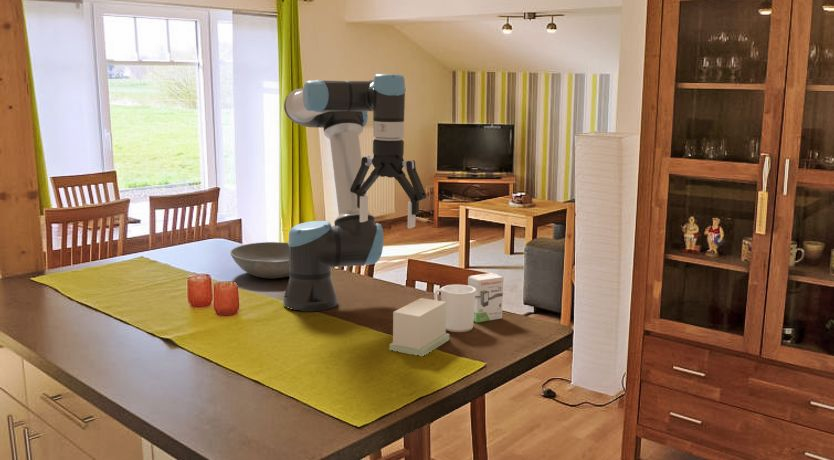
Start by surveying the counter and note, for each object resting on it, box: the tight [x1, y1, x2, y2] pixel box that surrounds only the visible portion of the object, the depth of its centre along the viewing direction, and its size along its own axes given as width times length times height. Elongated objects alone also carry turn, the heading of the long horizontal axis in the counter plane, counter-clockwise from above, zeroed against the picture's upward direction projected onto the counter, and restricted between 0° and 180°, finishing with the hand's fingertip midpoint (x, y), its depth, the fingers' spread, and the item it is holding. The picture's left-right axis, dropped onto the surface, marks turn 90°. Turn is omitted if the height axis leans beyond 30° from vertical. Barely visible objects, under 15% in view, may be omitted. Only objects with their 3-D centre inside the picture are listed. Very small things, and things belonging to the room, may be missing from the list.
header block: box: [389, 332, 450, 357], centre depth 190 cm, size 9×14×6 cm, turn 152°
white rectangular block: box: [392, 297, 447, 349], centre depth 189 cm, size 14×7×8 cm, turn 152°
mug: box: [433, 284, 476, 333], centre depth 204 cm, size 11×9×10 cm
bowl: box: [230, 241, 289, 280], centre depth 255 cm, size 27×28×8 cm
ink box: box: [467, 272, 505, 323], centre depth 212 cm, size 9×5×12 cm, turn 121°
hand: (387, 224), depth 195 cm, fingers open, 13 cm apart
